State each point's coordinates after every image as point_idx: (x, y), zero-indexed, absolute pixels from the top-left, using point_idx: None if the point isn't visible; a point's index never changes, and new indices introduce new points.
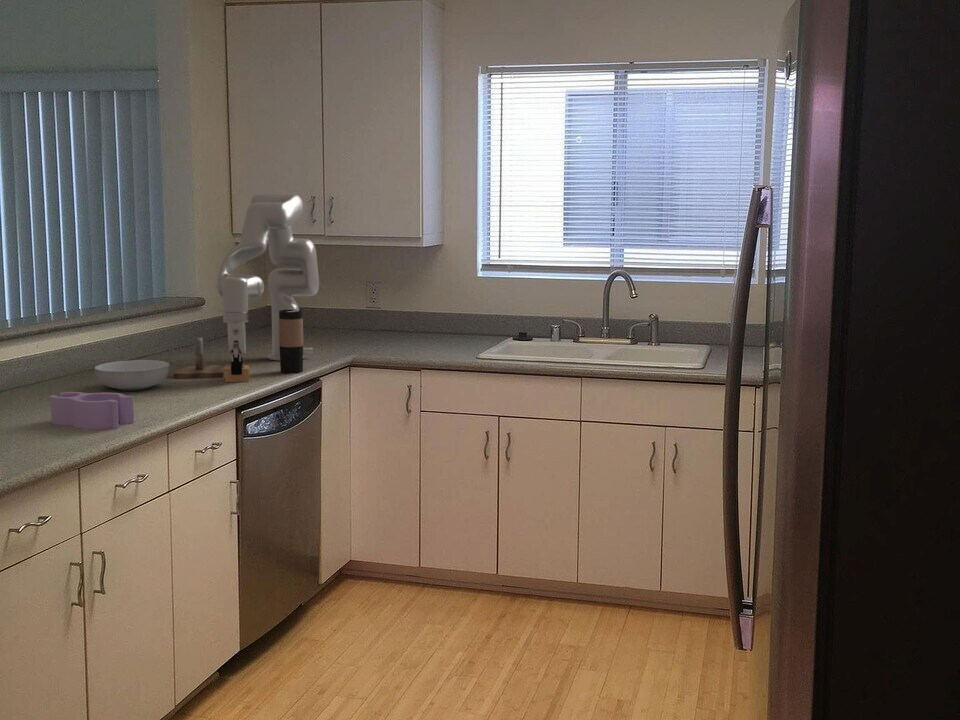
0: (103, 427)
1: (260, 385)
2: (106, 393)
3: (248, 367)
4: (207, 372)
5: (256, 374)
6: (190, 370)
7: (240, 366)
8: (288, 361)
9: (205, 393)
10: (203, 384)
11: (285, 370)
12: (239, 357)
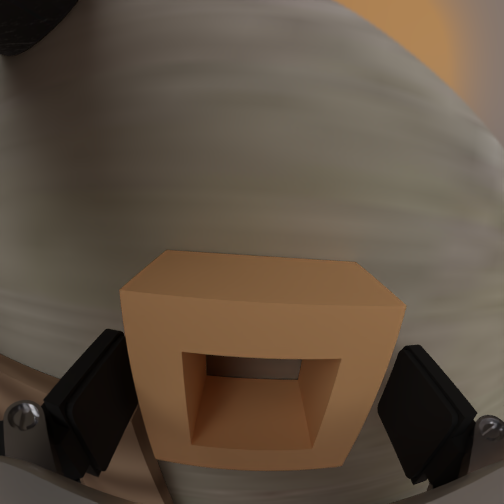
0: None
1: (490, 198)
2: None
3: (316, 308)
4: (134, 466)
5: (41, 190)
6: (94, 481)
7: (446, 393)
8: None
9: (499, 407)
10: (343, 463)
11: (58, 6)
12: (500, 455)
